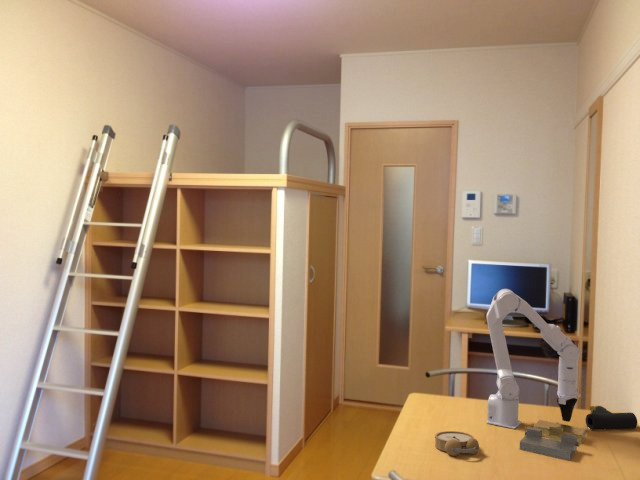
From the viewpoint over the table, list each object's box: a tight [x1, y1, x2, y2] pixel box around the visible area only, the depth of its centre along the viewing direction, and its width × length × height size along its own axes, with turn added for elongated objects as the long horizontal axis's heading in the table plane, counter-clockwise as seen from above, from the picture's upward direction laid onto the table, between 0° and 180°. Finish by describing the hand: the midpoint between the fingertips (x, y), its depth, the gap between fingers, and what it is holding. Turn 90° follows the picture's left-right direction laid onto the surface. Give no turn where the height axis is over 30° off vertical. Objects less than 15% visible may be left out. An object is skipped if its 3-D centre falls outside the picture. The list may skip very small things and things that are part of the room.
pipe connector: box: [585, 405, 638, 431], centre depth 203 cm, size 12×5×15 cm
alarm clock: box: [434, 430, 480, 457], centre depth 179 cm, size 11×5×15 cm
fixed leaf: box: [519, 426, 580, 462], centre depth 180 cm, size 15×9×4 cm, turn 56°
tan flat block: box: [533, 419, 587, 445], centre depth 191 cm, size 14×9×4 cm, turn 56°
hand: (566, 420), depth 199 cm, fingers closed
